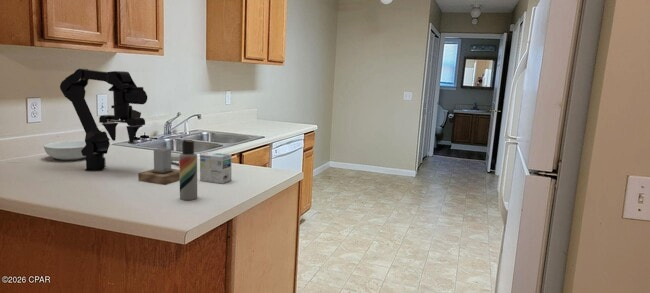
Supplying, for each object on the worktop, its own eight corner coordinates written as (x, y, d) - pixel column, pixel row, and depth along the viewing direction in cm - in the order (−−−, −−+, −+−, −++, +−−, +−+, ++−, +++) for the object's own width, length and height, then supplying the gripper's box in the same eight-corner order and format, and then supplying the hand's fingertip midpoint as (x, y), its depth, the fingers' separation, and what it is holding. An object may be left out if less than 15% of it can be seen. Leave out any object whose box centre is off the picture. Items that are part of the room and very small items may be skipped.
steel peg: (154, 179, 171) (153, 149, 169) (162, 177, 175) (161, 147, 173) (163, 181, 170) (163, 150, 168) (171, 178, 174) (171, 149, 172)
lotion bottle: (182, 195, 151) (181, 138, 148) (198, 196, 152) (198, 138, 149) (177, 200, 146) (177, 140, 143) (195, 200, 146) (195, 141, 143)
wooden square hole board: (138, 180, 169) (138, 173, 168) (161, 174, 180) (161, 167, 180) (164, 184, 165) (164, 176, 164) (186, 178, 176) (186, 170, 176)
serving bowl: (49, 155, 209) (48, 140, 208) (98, 153, 217) (98, 140, 216) (39, 163, 190) (38, 148, 189) (94, 162, 198) (93, 147, 197)
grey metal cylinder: (163, 151, 211) (193, 151, 195) (164, 165, 212) (194, 166, 196) (153, 152, 207) (183, 152, 191) (154, 166, 208) (184, 168, 192)
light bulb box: (232, 180, 176) (232, 154, 174) (222, 184, 170) (223, 156, 168) (209, 177, 179) (209, 151, 177) (199, 180, 173) (199, 153, 171)
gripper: (154, 103, 180) (155, 141, 182) (119, 100, 186) (120, 137, 189) (134, 104, 170) (135, 144, 172) (97, 101, 176) (98, 140, 178)
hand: (122, 141), depth 178 cm, fingers open, 9 cm apart
